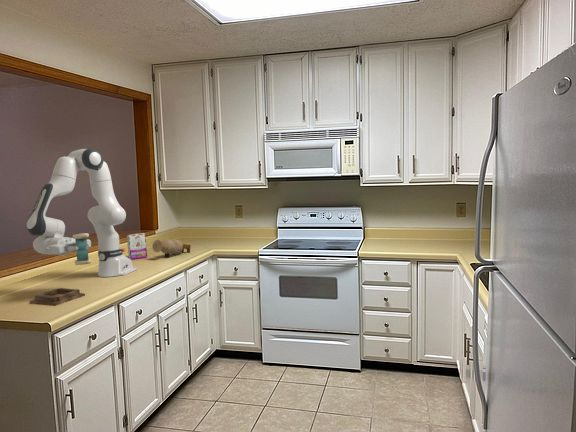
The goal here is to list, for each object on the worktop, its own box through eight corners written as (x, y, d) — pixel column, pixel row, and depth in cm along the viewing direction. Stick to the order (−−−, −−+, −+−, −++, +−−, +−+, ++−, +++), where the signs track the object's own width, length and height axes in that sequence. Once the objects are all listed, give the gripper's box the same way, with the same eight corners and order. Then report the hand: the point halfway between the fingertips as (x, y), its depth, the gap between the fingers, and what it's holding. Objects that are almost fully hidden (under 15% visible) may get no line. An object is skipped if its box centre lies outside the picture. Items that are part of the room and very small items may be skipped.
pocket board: (59, 293, 217) (59, 287, 216) (84, 295, 210) (84, 289, 210) (29, 302, 202) (29, 296, 202) (55, 305, 196) (55, 298, 195)
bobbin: (83, 261, 221) (81, 233, 219) (94, 262, 218) (92, 233, 216) (71, 264, 214) (69, 235, 213) (82, 265, 211) (80, 235, 210)
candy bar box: (145, 256, 306) (143, 232, 304) (147, 257, 302) (145, 233, 300) (128, 259, 299) (126, 234, 298) (130, 260, 295) (128, 235, 294)
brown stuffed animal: (179, 257, 318) (150, 257, 291) (180, 240, 319) (151, 238, 292) (191, 258, 314) (162, 257, 287) (192, 240, 315) (163, 238, 288)
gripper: (42, 243, 210) (64, 243, 205) (77, 236, 229) (98, 237, 224) (43, 256, 211) (65, 257, 206) (78, 248, 230) (99, 249, 224)
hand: (83, 246), depth 215 cm, fingers closed on bobbin, 5 cm apart
